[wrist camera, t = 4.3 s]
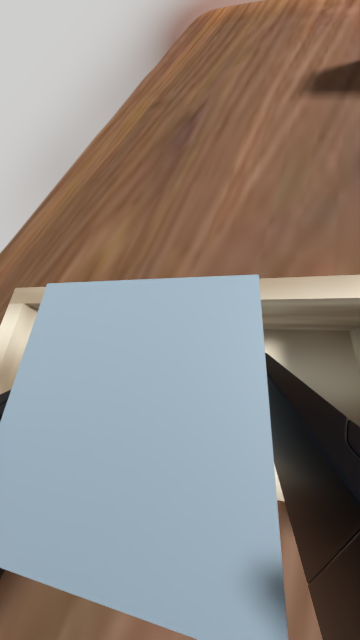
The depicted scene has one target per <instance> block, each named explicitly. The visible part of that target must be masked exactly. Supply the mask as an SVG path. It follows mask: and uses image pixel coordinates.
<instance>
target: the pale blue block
mask: <svg viewBox="0 0 360 640" xmlns="http://www.w3.org/2000/svg"><path fill="white" fill-rule="evenodd" d="M0 568H2V569H5V570H8V571H11V572H13V573H16V574H19V575H22V576H24V577H27V578H30V579H33V580H35V581H38V582H41V583H44V584H46V585H49V586H52V587H55V588H57V589H60V590H63V591H66V592H68V593H71V594H74V595H77V596H79V597H82V598H85V599H88V600H90V601H93V602H96V603H99V604H101V605H104V606H107V607H110V608H112V609H115V610H118V611H121V612H123V613H126V614H129V615H132V616H134V617H137V618H140V619H143V620H145V621H148V622H151V623H154V624H156V625H159V626H162V627H165V628H167V629H170V630H173V631H176V632H178V633H181V634H184V635H187V636H189V637H192V638H195V639H198V640H288V630H287V618H286V606H285V593H284V581H283V569H282V556H281V544H280V531H279V519H278V507H277V494H276V482H275V470H274V457H273V445H272V433H271V420H270V408H269V396H268V383H267V371H266V359H265V346H264V334H263V321H262V309H261V297H260V284H259V275H237V276H214V277H191V278H167V279H144V280H121V281H98V282H74V283H51V284H47V286H46V289H45V292H44V295H43V298H42V301H41V304H40V307H39V310H38V313H37V315H36V318H35V321H34V324H33V327H32V330H31V333H30V336H29V339H28V342H27V345H26V348H25V351H24V354H23V357H22V360H21V362H20V365H19V368H18V371H17V374H16V377H15V380H14V383H13V386H12V389H11V392H10V395H9V398H8V401H7V404H6V407H5V410H4V412H3V415H2V418H1V421H0Z"/></svg>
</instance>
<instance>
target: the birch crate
mask: <svg viewBox="0 0 360 640" xmlns="http://www.w3.org/2000/svg"><path fill="white" fill-rule="evenodd" d="M259 284H260V297H261V309H262V321H263V334H264V346H265V353H267V354H269V355H270V356H271V357H272V358H274V359H275V360H276V361H277V362H279V363H280V364H281V365H282V366H284V367H285V368H286V369H287V370H289V371H290V372H291V373H292V374H294V375H295V376H296V377H298V378H299V379H300V380H301V381H303V382H304V383H305V384H306V385H308V386H309V387H310V388H311V389H313V390H314V391H315V392H316V393H318V394H319V395H320V396H321V397H323V398H324V399H325V400H326V401H328V402H329V403H330V404H332V405H333V406H334V407H335V408H337V409H338V410H339V411H340V412H342V413H343V414H344V415H345V416H347V417H348V420H349V419H350V420H352V421H353V422H354V423H356V424H357V425H358V426H359V427H360V275H343V276H317V277H291V278H265V279H259ZM45 289H46V287H32V288H15V291H14V293H13V296H12V298H11V301H10V303H9V306H8V308H7V311H6V313H5V316H4V318H3V321H2V323H1V326H0V394H2V393H4V392H7V391H9V390H11V389H12V386H13V383H14V380H15V377H16V374H17V371H18V368H19V365H20V362H21V360H22V357H23V354H24V351H25V348H26V345H27V342H28V339H29V336H30V333H31V330H32V327H33V324H34V321H35V318H36V315H37V313H38V310H39V307H40V304H41V301H42V298H43V295H44V292H45ZM274 470H275V482H276V494H277V500H279V501H285V500H284V497H283V493H282V490H281V486H280V482H279V479H278V475H277V472H276V468H275V464H274Z"/></svg>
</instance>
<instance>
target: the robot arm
mask: <svg viewBox="0 0 360 640" xmlns="http://www.w3.org/2000/svg"><path fill="white" fill-rule="evenodd" d="M265 359H266V371H267V383H268V396H269V408H270V420H271V433H272V445H273V457H274V464H275V468H276V472H277V475H278V479H279V482H280V486H281V490H282V493H283V497H284V500H285V504H286V508H287V511H288V515H289V519H290V522H291V526H292V529H293V533H294V537H295V540H296V544H297V547H298V551H299V555H300V558H301V562H302V565H303V569H304V573H305V576H306V580H307V583H308V584H309V585H308V588H309V591H310V595H311V598H312V602H313V606H314V609H315V613H316V616H317V620H318V624H319V627H320V631H321V635H322V638H323V640H360V427H359V426H358V425H357V424H356V423H354V422H353V421H352V420H350V419H349V420H348V417H347V416H345V415H344V414H343V413H342V412H340V411H339V410H338V409H337V408H335V407H334V406H333V405H332V404H330V403H329V402H328V401H326V400H325V399H324V398H323V397H321V396H320V395H319V394H318V393H316V392H315V391H314V390H313V389H311V388H310V387H309V386H308V385H306V384H305V383H304V382H303V381H301V380H300V379H299V378H298V377H296V376H295V375H294V374H292V373H291V372H290V371H289V370H287V369H286V368H285V367H284V366H282V365H281V364H280V363H279V362H277V361H276V360H275V359H274V358H272V357H271V356H270V355H269V354H267V353H265ZM10 392H11V390H9V391H7V392H4V393H2V394H0V421H1V418H2V415H3V412H4V410H5V407H6V404H7V401H8V398H9V395H10ZM4 572H5V569H2V568H0V579H1V577H2V575H3V573H4Z"/></svg>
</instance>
